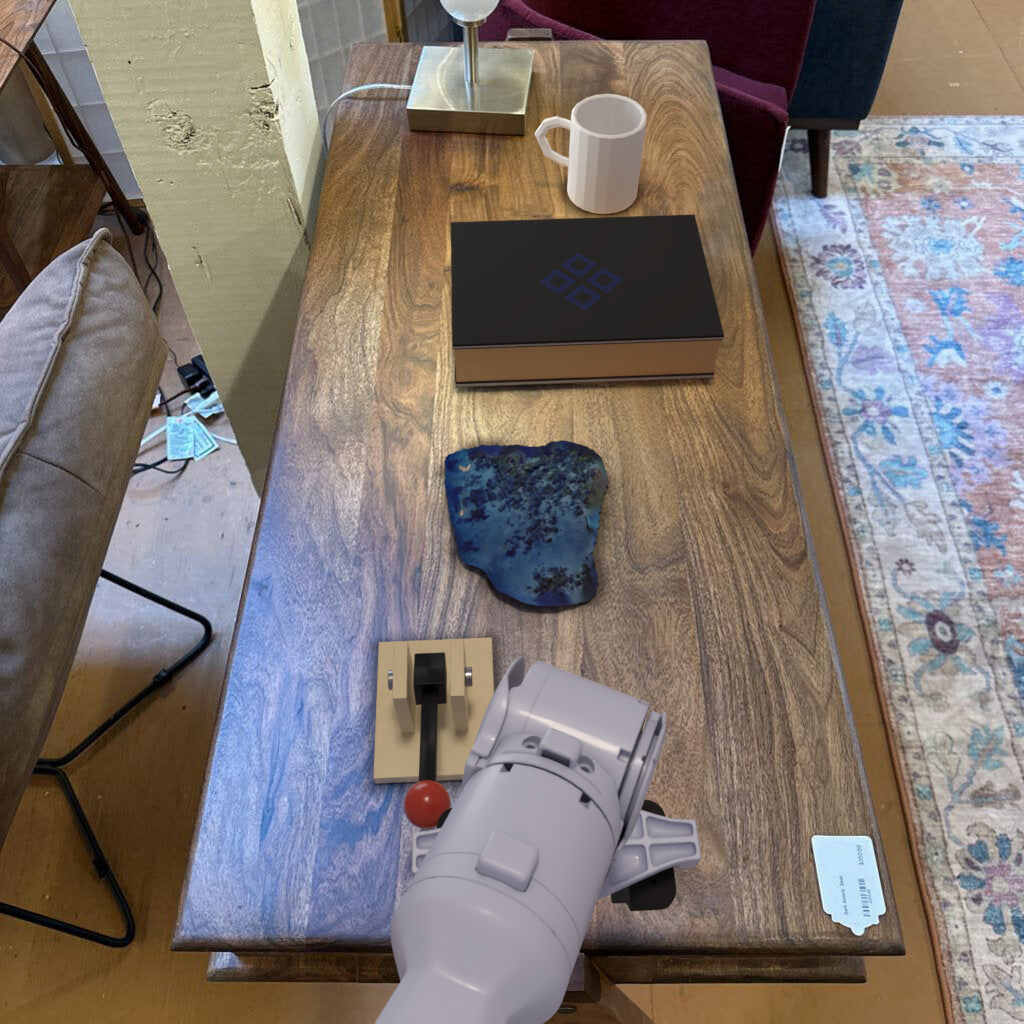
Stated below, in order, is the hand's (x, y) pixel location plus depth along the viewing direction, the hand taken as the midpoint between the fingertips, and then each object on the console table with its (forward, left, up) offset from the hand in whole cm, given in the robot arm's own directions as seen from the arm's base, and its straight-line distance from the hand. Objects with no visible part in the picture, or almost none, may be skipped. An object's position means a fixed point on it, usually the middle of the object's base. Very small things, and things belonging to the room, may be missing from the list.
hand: (550, 887), depth 54 cm
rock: (+32, +5, -11) cm, 34 cm away
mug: (+79, +4, -11) cm, 80 cm away
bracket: (+14, +10, -10) cm, 20 cm away
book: (+57, +3, -11) cm, 58 cm away
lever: (+9, +9, -5) cm, 13 cm away
